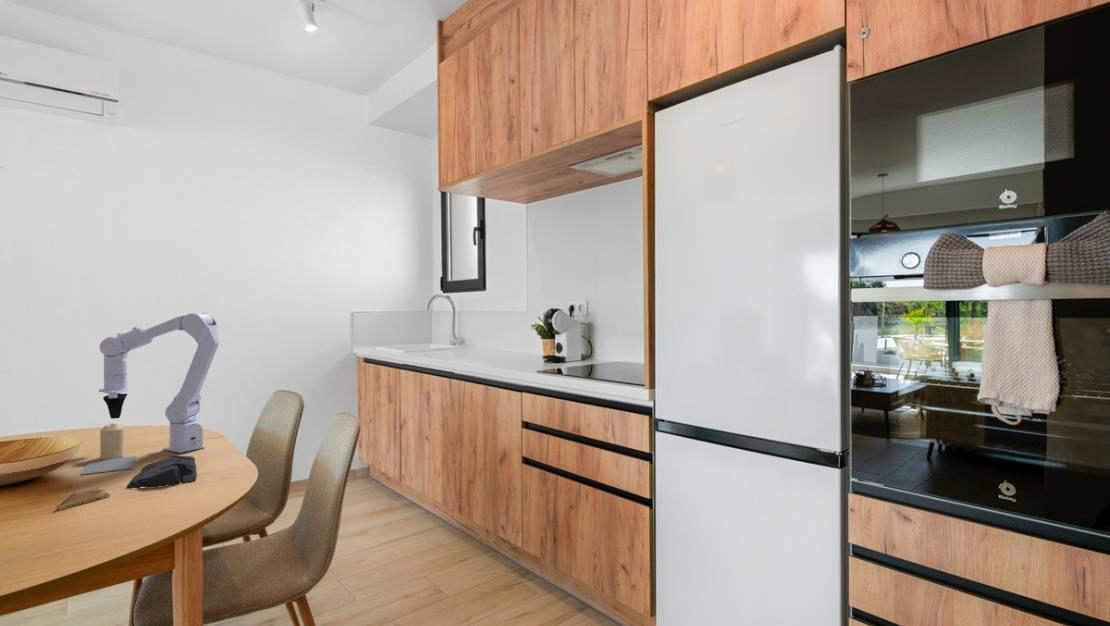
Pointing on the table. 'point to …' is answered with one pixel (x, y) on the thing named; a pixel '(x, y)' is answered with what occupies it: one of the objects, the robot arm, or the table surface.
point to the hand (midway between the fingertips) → (115, 417)
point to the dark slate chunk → (166, 472)
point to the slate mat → (109, 465)
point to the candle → (111, 441)
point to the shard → (83, 497)
